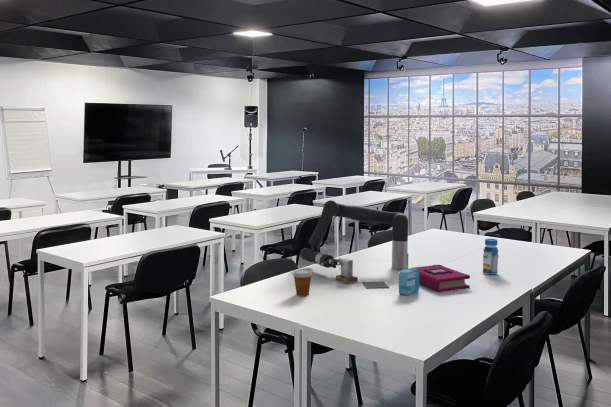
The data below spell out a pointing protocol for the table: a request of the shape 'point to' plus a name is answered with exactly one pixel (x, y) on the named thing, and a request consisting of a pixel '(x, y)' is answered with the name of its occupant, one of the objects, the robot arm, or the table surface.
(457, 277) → the book
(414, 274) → the data package
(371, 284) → the black mat
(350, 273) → the light grey rectangular block
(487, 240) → the beverage bottle
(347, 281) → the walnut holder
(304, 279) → the disposable coffee cup
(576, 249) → the table surface
